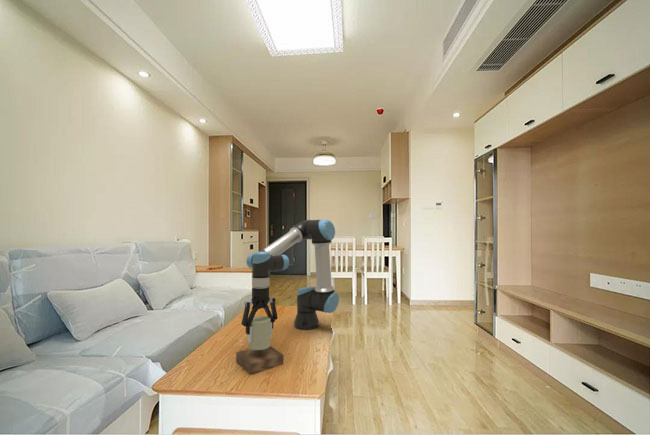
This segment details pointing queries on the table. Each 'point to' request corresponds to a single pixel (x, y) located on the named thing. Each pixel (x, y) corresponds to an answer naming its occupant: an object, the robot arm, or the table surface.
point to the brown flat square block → (259, 359)
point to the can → (260, 333)
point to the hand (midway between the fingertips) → (259, 338)
